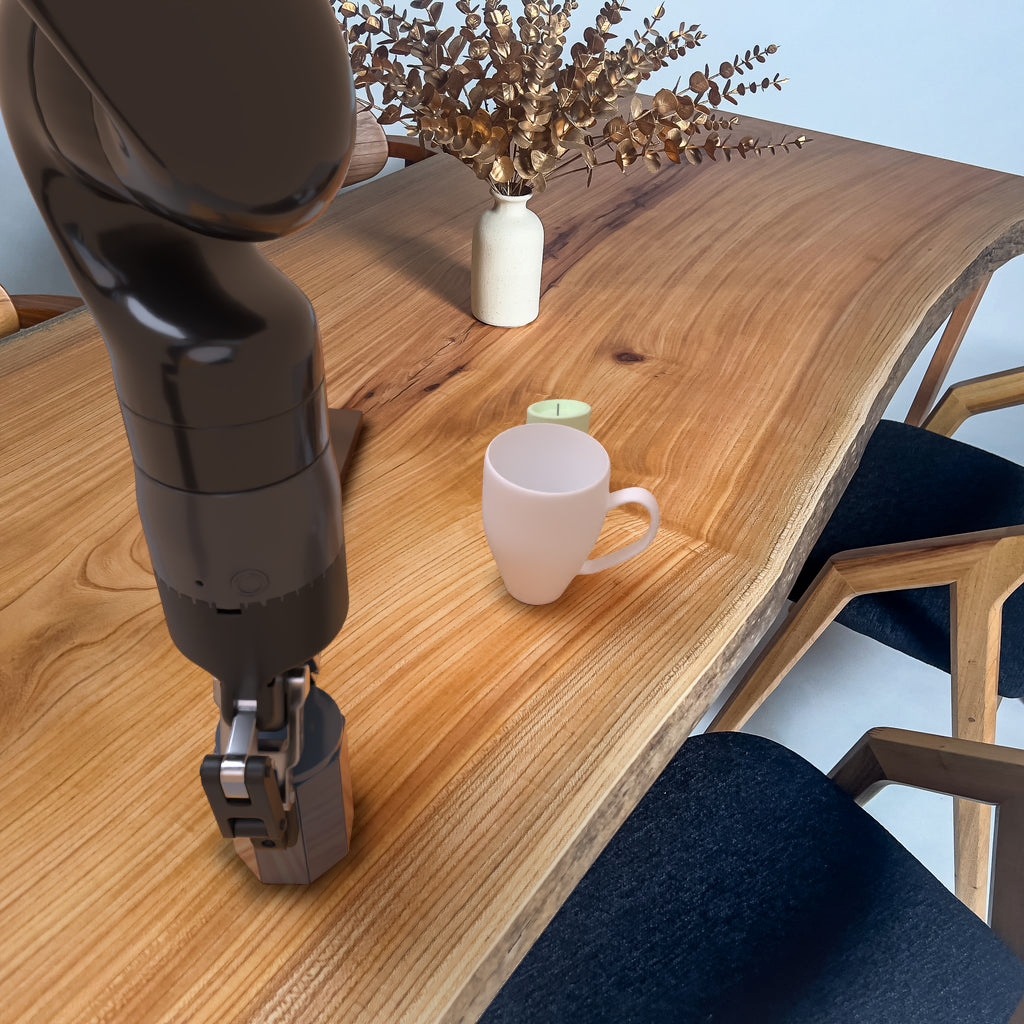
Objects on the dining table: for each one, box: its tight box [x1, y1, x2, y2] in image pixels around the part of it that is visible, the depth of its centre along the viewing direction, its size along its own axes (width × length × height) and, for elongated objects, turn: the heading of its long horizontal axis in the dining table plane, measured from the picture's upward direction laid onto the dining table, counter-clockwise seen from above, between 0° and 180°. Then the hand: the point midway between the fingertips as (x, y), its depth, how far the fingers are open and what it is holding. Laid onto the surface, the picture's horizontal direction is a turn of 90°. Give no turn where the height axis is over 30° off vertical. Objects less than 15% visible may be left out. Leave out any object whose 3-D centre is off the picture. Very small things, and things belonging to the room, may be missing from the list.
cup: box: [212, 684, 355, 885], centre depth 46 cm, size 6×6×9 cm
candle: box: [525, 398, 592, 435], centre depth 73 cm, size 5×5×8 cm
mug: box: [481, 423, 661, 606], centre depth 62 cm, size 12×8×11 cm
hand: (288, 781), depth 46 cm, fingers closed on cup, 6 cm apart
